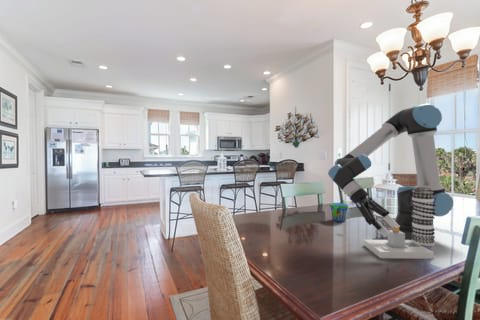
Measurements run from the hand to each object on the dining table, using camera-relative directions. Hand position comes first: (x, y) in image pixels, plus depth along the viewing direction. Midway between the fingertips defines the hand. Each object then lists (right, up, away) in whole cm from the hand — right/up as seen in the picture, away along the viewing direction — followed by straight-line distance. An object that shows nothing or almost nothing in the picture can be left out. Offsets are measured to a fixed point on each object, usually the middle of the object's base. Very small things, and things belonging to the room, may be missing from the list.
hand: (392, 232), depth 101 cm
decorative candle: (+20, -8, +9) cm, 23 cm away
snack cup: (-2, -8, +50) cm, 50 cm away
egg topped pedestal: (+1, -8, -1) cm, 8 cm away
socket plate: (+1, -8, -1) cm, 8 cm away
